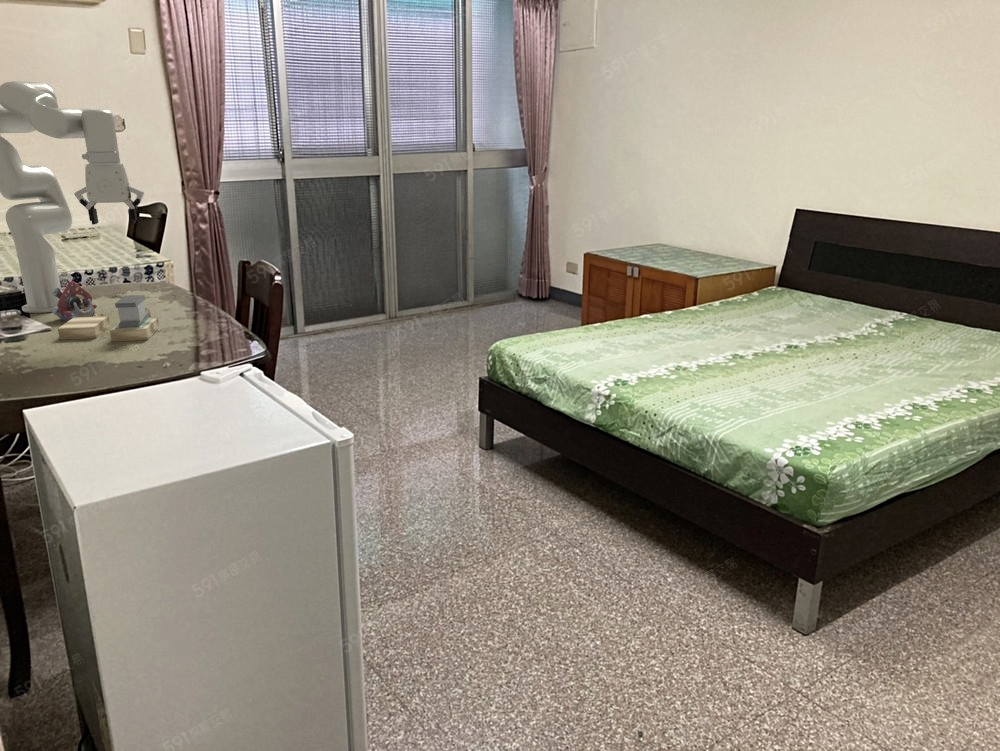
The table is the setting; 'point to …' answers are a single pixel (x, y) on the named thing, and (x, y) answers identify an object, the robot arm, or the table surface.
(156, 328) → the stand
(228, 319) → the table surface
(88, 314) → the motor mount assembly
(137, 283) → the table surface
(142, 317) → the block
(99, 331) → the stand
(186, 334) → the table surface
